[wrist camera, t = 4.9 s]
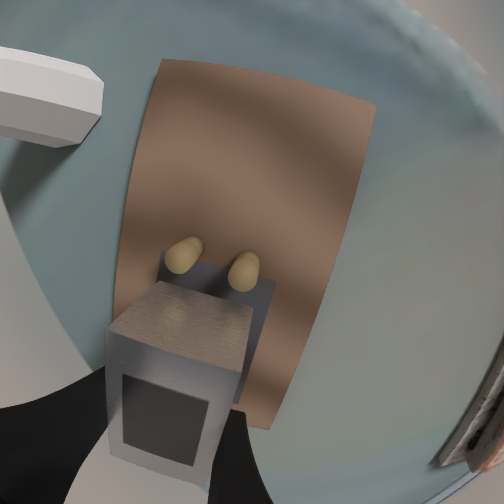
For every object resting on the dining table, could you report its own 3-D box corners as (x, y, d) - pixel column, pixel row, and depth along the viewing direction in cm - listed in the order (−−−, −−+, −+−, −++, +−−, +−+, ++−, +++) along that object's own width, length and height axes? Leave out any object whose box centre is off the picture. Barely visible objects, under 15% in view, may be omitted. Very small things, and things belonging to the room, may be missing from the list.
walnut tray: (269, 419, 18) (267, 457, 15) (117, 374, 19) (95, 403, 15) (370, 109, 14) (394, 92, 10) (168, 64, 14) (143, 40, 10)
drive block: (221, 416, 15) (204, 487, 10) (146, 393, 15) (110, 455, 10) (253, 307, 13) (241, 373, 8) (159, 280, 13) (104, 329, 8)
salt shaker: (87, 159, 15) (-76, 164, 5) (33, 138, 15) (-102, 138, 5) (120, 73, 14) (-22, 4, 3) (61, 63, 14) (-64, 20, 3)
